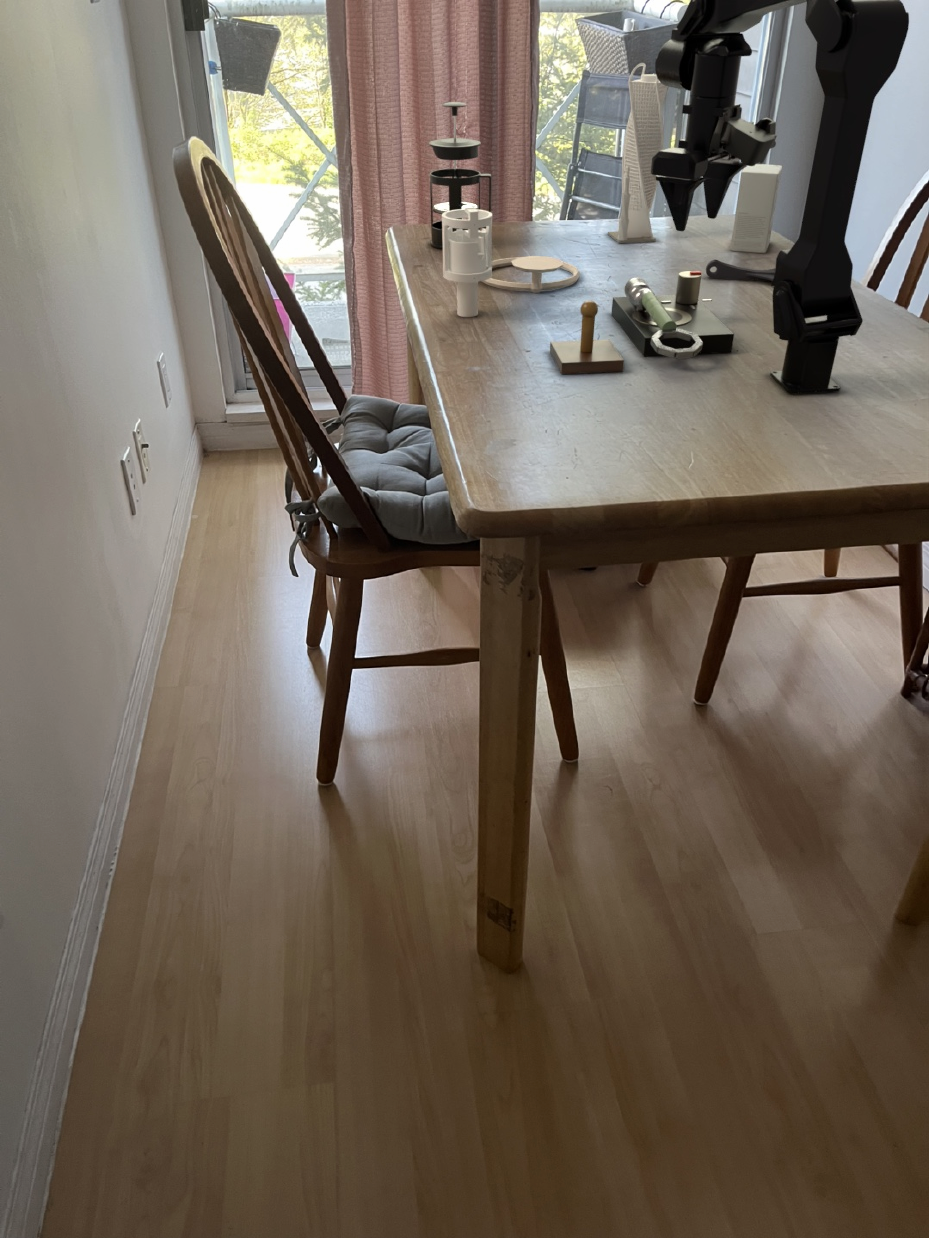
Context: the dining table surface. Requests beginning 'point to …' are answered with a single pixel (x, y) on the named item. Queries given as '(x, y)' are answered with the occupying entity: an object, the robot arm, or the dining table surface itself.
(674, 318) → the burner
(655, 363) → the dining table surface
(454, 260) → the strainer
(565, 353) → the peg stand
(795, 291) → the robot arm
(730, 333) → the stove
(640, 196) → the skyscraper
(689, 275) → the burner knob
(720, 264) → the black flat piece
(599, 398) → the dining table surface
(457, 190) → the french press
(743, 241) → the small box
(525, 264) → the hand towel holder
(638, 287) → the green handled ring tool
